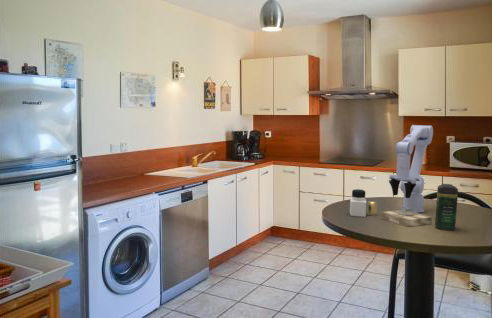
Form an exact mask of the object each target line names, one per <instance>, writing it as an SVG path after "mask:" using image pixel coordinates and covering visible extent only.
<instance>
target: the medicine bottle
mask: <svg viewBox="0 0 492 318" xmlns="http://www.w3.org/2000/svg"><path fill="white" fill-rule="evenodd" d="M349 201H350V203H349V216H350V217H359V218H360V217H362V218H364V217H365V218H366V217H367V207H368V201H367V200H366V190H364V189H362V188H361V189H358V188H357V189H353V190H352V191H351V198H350V200H349Z"/></svg>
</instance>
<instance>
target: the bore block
mask: <svg viewBox="0 0 492 318" xmlns="http://www.w3.org/2000/svg"><path fill="white" fill-rule="evenodd" d="M380 219H381V220H384V221H388V222H392V223H395V224H398V225H401V226H403V227H407V228H409V227H411V228H412V227H417V226H425V225H426V226H427V225H431V224H432V222H433V221H432V219H433V217H432V216H429V215H426V214H422V213H414V212H412V216H403V215H399V209H397V210H388V211H381V213H380Z"/></svg>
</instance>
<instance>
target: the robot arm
mask: <svg viewBox="0 0 492 318" xmlns="http://www.w3.org/2000/svg"><path fill="white" fill-rule="evenodd" d="M433 136H434V128H433V126H432V125H419V124H418V125H417V124H412V125H411V126H410V129H409V133H408V134H406V136H404V138H403V139H402V141H399V142H396V145H395V153H396V154H395V157H396V174H389V178H388V179H389V180H388V183H389V184H390V188H391V190H392V191H391V192H392V195H393V196H398V194H399V189H400V191H401V192H402V193H403V201H402V202H403V203H402V207H408V208H412V209H413V212H414V213H418V214H420V213H425V210H424V205H425V204H424V203H425V198H424V195H423V194H422V193H424V188H425V186H424V185H425V179H424V178H423V177H422V176H421V170H422V167H423V163H424V159H425V153H426V151H427V147H428V145H431V143H432V140H433ZM414 147H415V149H414ZM413 151H414V153H413ZM412 153H413V157H412V162H411V155H412Z"/></svg>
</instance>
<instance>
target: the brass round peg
mask: <svg viewBox="0 0 492 318" xmlns="http://www.w3.org/2000/svg"><path fill="white" fill-rule="evenodd" d="M377 208H378V202H377V201H374V200H373V201H371V200H369V201H367V215H368V216H372V215H375V216H377V213H378V212H377V210H378V209H377Z"/></svg>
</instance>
